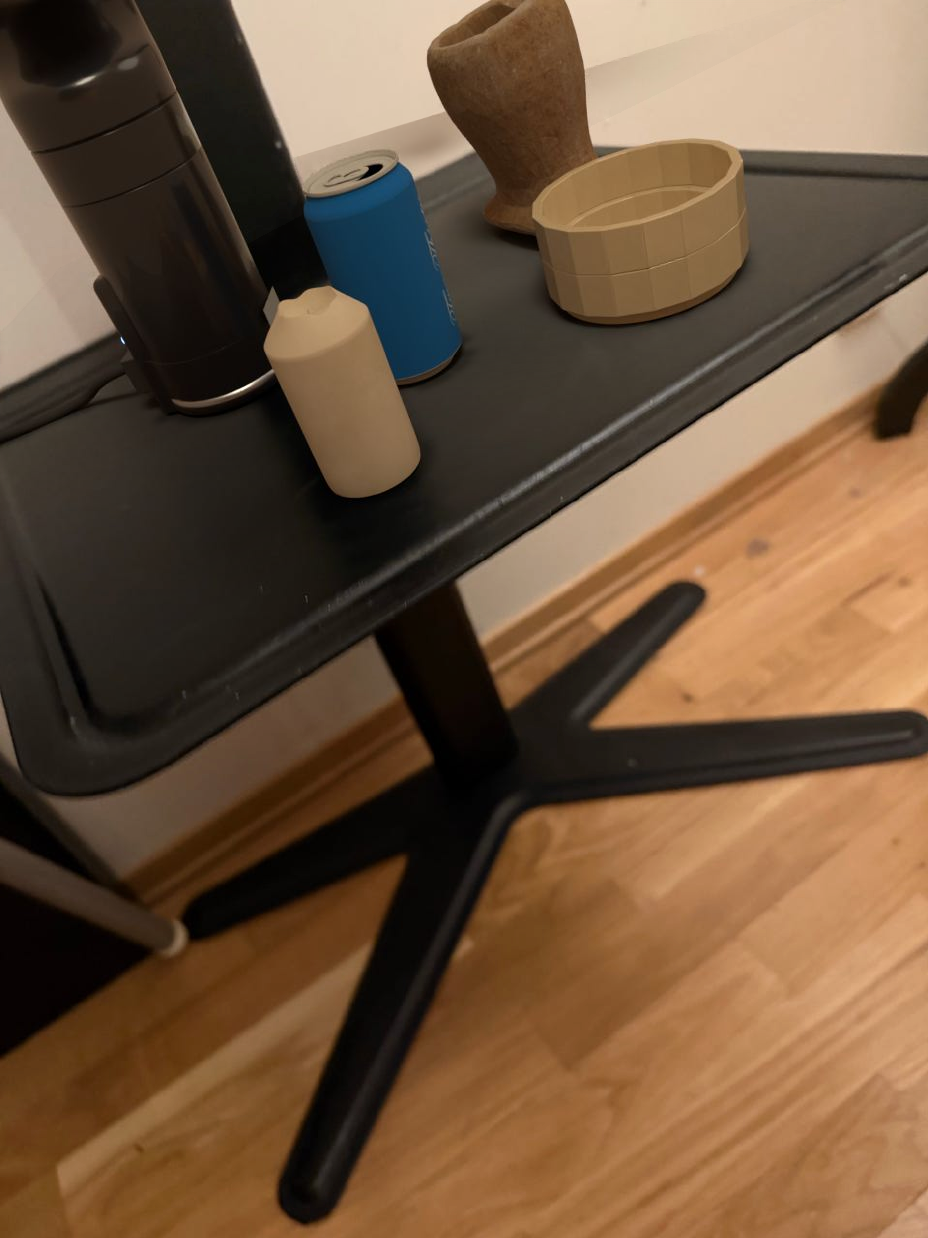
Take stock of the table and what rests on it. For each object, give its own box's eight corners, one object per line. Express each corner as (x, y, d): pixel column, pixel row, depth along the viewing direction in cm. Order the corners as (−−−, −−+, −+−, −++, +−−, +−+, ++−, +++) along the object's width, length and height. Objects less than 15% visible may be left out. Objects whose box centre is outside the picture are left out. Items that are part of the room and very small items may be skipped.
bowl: (553, 348, 54) (530, 251, 50) (552, 262, 63) (532, 174, 59) (764, 299, 51) (758, 192, 47) (732, 216, 60) (724, 120, 56)
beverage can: (464, 376, 54) (400, 173, 47) (364, 401, 56) (285, 207, 48) (466, 327, 59) (408, 135, 51) (374, 351, 60) (303, 168, 53)
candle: (385, 505, 47) (310, 330, 40) (309, 493, 50) (228, 328, 43) (440, 443, 50) (379, 271, 43) (365, 435, 53) (297, 272, 46)
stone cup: (449, 243, 71) (385, 27, 61) (569, 178, 73) (526, -39, 63) (562, 283, 60) (507, 28, 50) (698, 206, 62) (670, -51, 52)
